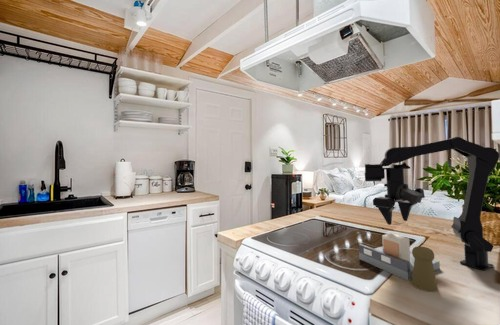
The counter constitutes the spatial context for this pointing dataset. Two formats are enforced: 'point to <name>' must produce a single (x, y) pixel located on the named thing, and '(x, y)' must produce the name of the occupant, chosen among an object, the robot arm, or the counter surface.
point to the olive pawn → (424, 269)
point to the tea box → (396, 246)
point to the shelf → (390, 261)
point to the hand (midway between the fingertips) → (397, 222)
